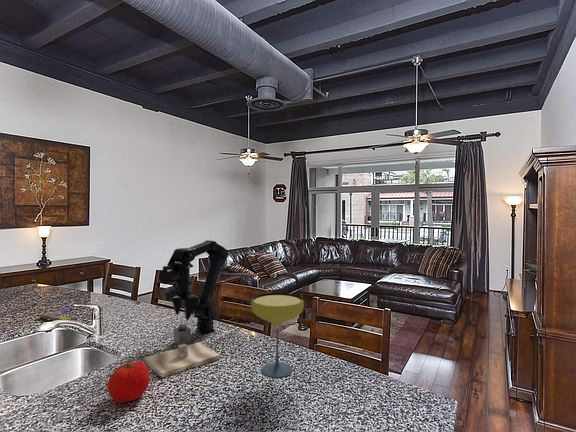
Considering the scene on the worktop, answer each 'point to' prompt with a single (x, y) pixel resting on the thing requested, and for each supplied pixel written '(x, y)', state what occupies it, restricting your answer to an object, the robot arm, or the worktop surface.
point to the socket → (182, 335)
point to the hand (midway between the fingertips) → (182, 317)
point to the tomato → (128, 382)
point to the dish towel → (53, 314)
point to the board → (181, 359)
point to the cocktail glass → (277, 322)
